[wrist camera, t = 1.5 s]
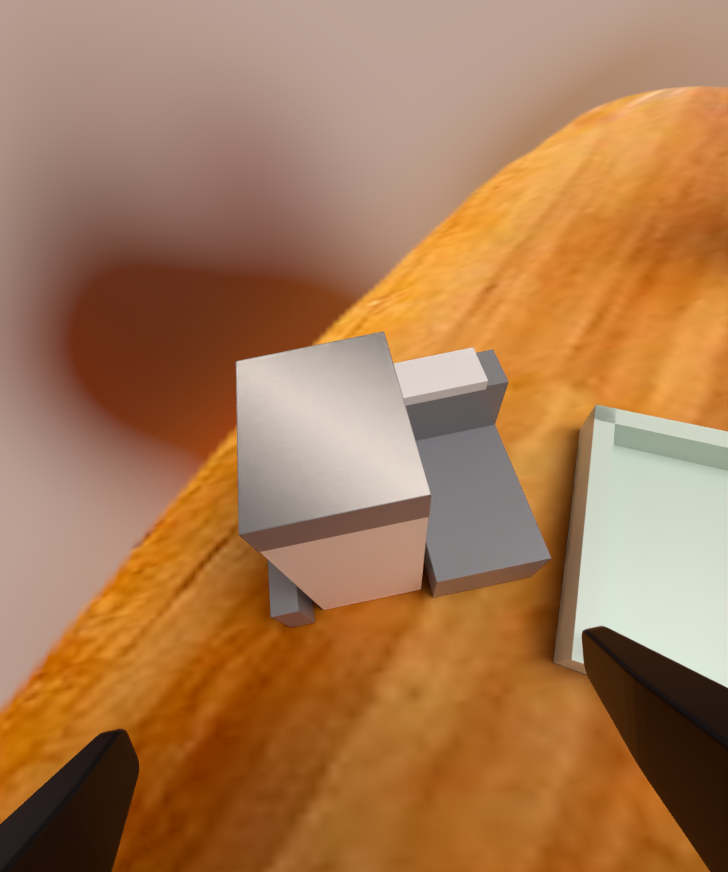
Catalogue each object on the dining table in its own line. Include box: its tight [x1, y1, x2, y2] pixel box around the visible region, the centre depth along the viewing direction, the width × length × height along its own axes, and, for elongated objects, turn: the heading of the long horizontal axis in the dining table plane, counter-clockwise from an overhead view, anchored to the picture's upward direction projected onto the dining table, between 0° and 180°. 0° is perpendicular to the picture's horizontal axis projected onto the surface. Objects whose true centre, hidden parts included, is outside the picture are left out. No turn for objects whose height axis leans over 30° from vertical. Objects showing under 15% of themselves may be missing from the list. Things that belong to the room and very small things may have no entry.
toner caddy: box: [236, 332, 431, 610], centre depth 17 cm, size 6×5×12 cm
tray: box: [553, 405, 728, 688], centre depth 19 cm, size 13×12×2 cm
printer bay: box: [268, 348, 551, 628], centre depth 20 cm, size 9×12×7 cm
